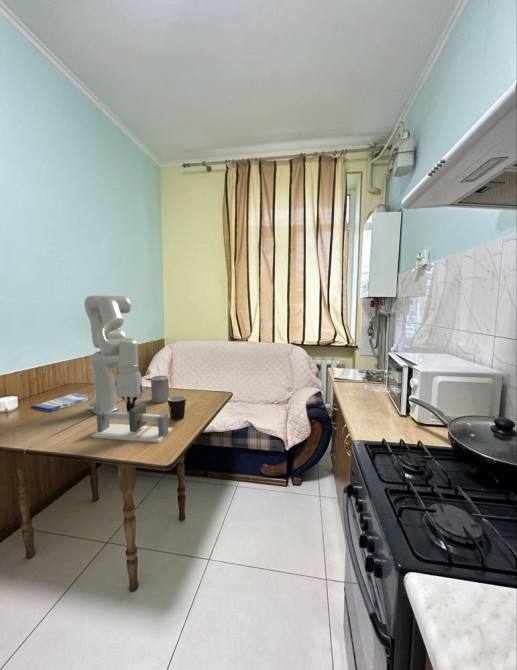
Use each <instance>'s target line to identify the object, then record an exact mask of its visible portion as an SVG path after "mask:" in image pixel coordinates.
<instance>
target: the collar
mask: <svg viewBox="0 0 517 670" xmlns="http://www.w3.org/2000/svg"><path fill="white" fill-rule="evenodd" d="M128 413H129V420H128V422H129V423H128V425H130V432H136V431H137V430H139V429H140V428H141V427H142V426H146V425H147V424H148V422H147V421H146V422H142V421H138V414H141V413H143V414H147V403H143V402H141V403H139V404H137V405H135V407H134V408H132V409H131V410H129V412H128Z"/></svg>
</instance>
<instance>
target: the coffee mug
mask: <svg viewBox="0 0 517 670" xmlns="http://www.w3.org/2000/svg"><path fill="white" fill-rule="evenodd" d="M186 401H187V397H186V396H185V395H173V396H169V398H168V401H167V403H168V411H169V415H170V420H171V421H175V422H176V421H182V420H184V419H185V413H186Z"/></svg>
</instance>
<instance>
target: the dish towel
mask: <svg viewBox="0 0 517 670" xmlns="http://www.w3.org/2000/svg"><path fill="white" fill-rule="evenodd" d="M90 400H92V396H90V395H85V394H78V393H77V392H76V393H75V392H72V393H69V394H68V395H64V396H61V397H57V398H55V399H51V400H47V401H43V402H42V403H37V404H33V405H31V406H30V408H32V409H34V408H35V410H39V411H44V412H48V413H52V412H55V411H58V410H62V409H66V408H68V407H71V406H75V405H78V404H81V403H84V402H87V401H90Z"/></svg>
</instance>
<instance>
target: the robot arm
mask: <svg viewBox="0 0 517 670" xmlns="http://www.w3.org/2000/svg"><path fill="white" fill-rule="evenodd" d="M84 309H85V313H86V315H87V317H88V320H89V323H90V332H91V341H92V344H93V346H94V348H97V349H99V351H95V352H93V353H92V354H91V356H90V363H91V366H92V367H91V368H92V371H93V379H94V380H93V383H94V385H93V386H94V387H93V388H94V399H95V401H94V400H93V401H90V403H89V407H93V408H92V409H91V410H92V412H91V413H92V414H96V415H97V413H99V412H101V411H103V410H108V411H109V412H117V411H118V410H119V409H120V405H119V404H116V403H117V399H116V397H118V398H119V399H122V400H123V401H124V404H126V413H129V410H131V409H132V408H134V407H136V401H137V400H139V399H143V393H144V387H143V386H144V385H143V377H142V374H141V372H140V370H139V369H140V367H139V366H140V365H139V344H138V340H135V339H133V338H131V337H130V338H129V337H127V335H126V333H125V331H124V330H122V329H120V328H121V327H122V326H123V325H124V322H125V321H124V317H123V315H122V314H129V313H130V312H131V310H132V303H131V299H129V298H128V296H123V295H104V294H103V295H99V294H98V295H89V296H86V297H85V298H84ZM115 368H116V370H118V372H117V374H116V375H117V376H116V379H115V375H114V373H113V372H112V371H110V369H115Z"/></svg>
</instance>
